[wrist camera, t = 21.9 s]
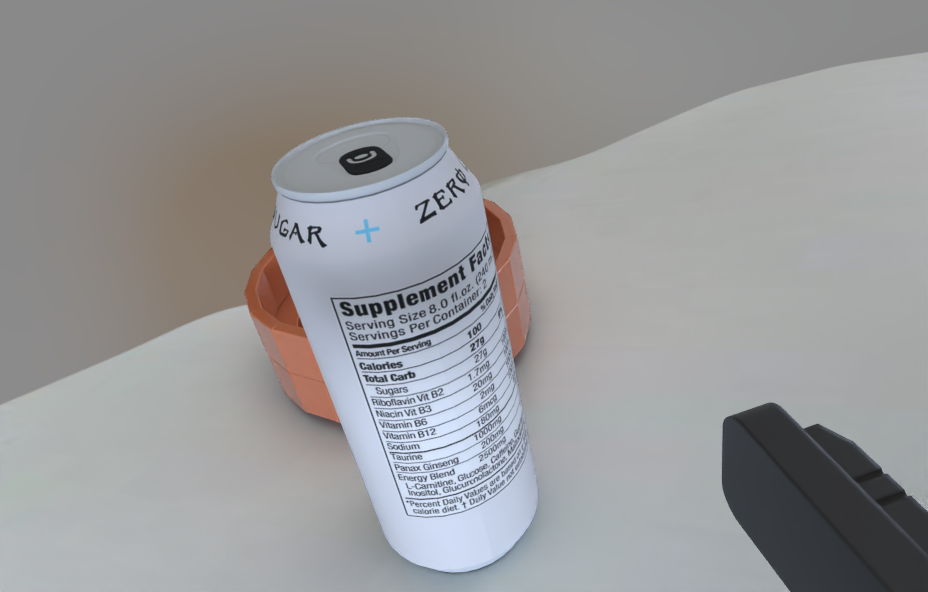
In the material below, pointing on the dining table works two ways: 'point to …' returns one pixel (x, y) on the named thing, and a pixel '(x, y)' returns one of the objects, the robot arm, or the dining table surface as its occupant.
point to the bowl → (292, 345)
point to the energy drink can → (410, 334)
